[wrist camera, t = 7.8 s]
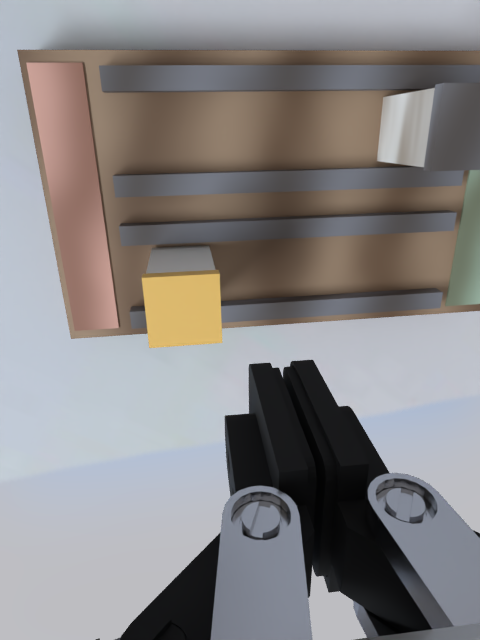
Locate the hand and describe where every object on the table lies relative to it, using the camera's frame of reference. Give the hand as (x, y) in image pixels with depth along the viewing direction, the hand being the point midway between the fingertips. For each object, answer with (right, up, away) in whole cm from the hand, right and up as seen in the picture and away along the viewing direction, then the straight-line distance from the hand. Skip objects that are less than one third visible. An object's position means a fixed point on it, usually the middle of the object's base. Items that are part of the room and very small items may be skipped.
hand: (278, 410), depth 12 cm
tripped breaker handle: (-4, +5, +12) cm, 14 cm away
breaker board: (+2, +9, +14) cm, 17 cm away
